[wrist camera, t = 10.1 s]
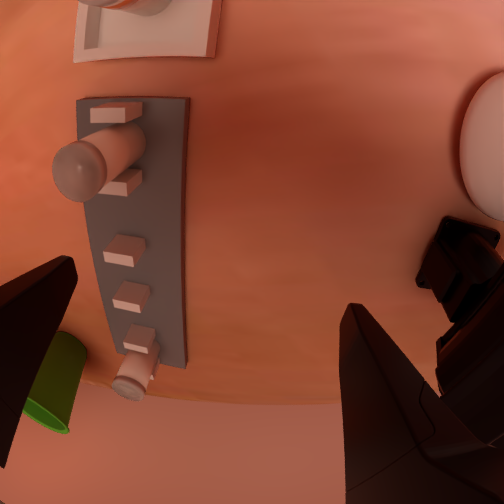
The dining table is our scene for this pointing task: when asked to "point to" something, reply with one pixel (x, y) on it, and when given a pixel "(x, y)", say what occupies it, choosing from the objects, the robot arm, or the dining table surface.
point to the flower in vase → (485, 148)
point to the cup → (57, 383)
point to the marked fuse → (131, 5)
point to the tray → (147, 32)
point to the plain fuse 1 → (97, 160)
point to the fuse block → (142, 226)
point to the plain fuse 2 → (135, 373)
